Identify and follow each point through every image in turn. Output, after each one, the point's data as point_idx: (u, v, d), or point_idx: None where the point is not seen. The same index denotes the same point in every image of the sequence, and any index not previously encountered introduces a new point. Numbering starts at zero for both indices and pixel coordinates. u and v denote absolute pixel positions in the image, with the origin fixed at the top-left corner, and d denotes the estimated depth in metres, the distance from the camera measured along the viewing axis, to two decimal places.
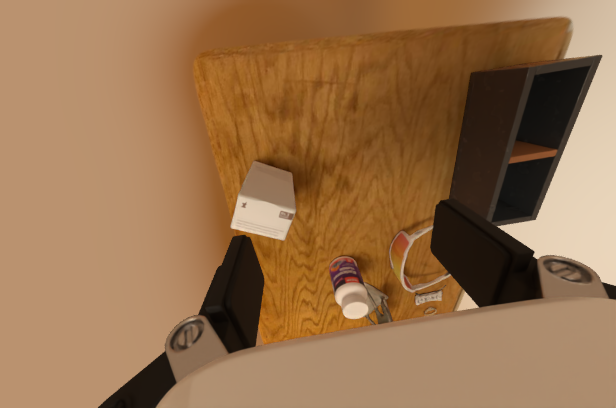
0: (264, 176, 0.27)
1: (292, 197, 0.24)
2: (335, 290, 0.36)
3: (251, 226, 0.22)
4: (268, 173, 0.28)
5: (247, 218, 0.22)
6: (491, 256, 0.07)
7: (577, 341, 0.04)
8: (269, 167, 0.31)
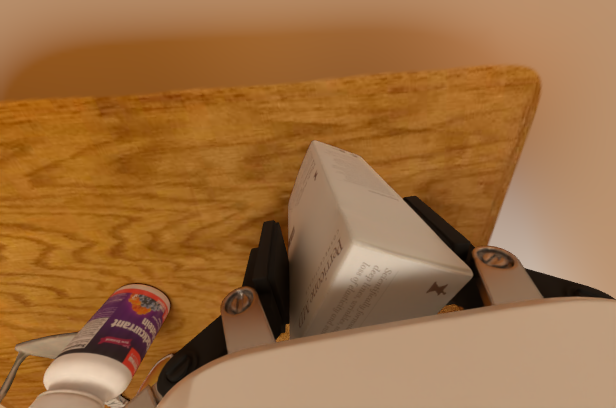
0: None
1: None
2: (89, 349, 0.16)
3: (354, 302, 0.07)
4: None
5: (386, 295, 0.06)
6: None
7: (577, 341, 0.04)
8: None
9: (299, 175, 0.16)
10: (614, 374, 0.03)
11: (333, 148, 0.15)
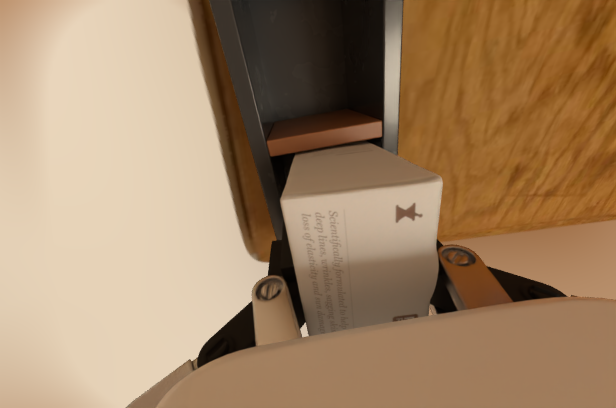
0: None
1: None
2: None
3: (324, 262, 0.06)
4: None
5: (351, 241, 0.06)
6: None
7: (577, 341, 0.04)
8: None
9: None
10: (614, 374, 0.03)
11: None
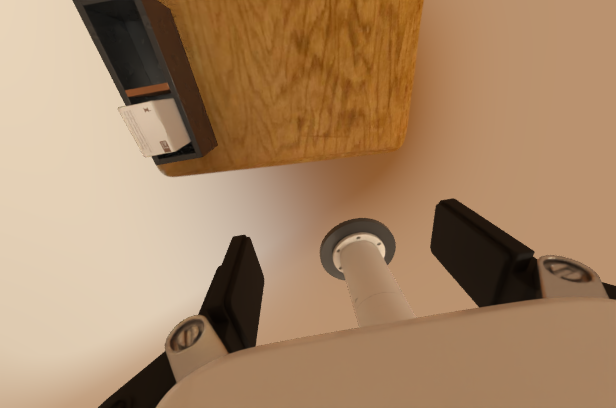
0: None
1: (183, 143, 0.30)
2: None
3: (133, 124, 0.25)
4: None
5: (137, 118, 0.25)
6: (491, 256, 0.07)
7: (577, 341, 0.04)
8: None
9: None
10: (614, 374, 0.03)
11: None
